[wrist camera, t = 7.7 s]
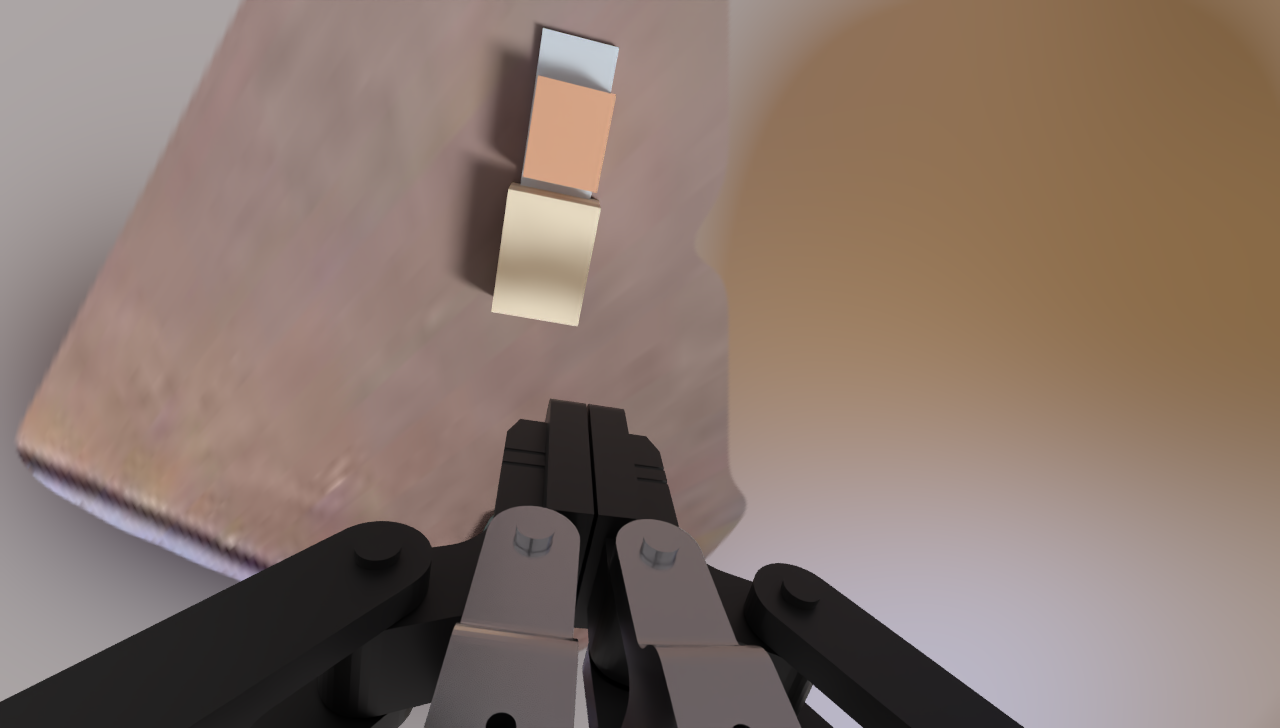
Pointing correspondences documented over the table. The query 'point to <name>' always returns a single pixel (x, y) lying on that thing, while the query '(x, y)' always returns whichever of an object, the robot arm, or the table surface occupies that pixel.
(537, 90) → the tile
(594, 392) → the table surface
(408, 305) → the table surface
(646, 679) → the robot arm
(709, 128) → the table surface
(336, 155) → the table surface
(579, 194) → the mat
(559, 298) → the deck
